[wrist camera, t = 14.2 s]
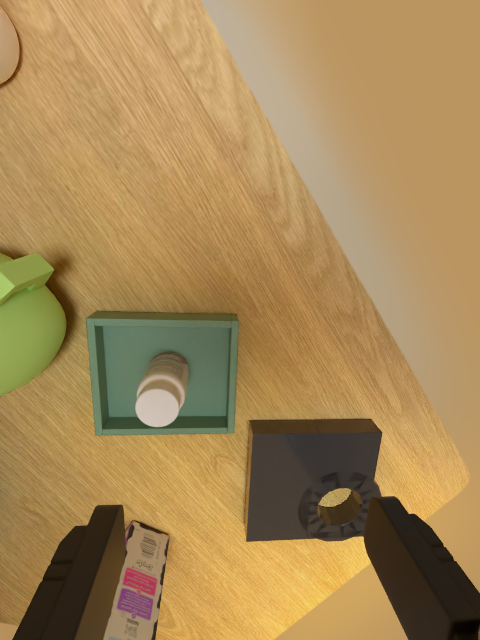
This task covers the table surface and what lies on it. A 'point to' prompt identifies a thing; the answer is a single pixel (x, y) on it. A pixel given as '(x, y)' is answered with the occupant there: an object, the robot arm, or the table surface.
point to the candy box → (139, 585)
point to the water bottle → (7, 47)
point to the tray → (141, 347)
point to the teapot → (27, 320)
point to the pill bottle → (162, 390)
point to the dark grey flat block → (309, 478)
